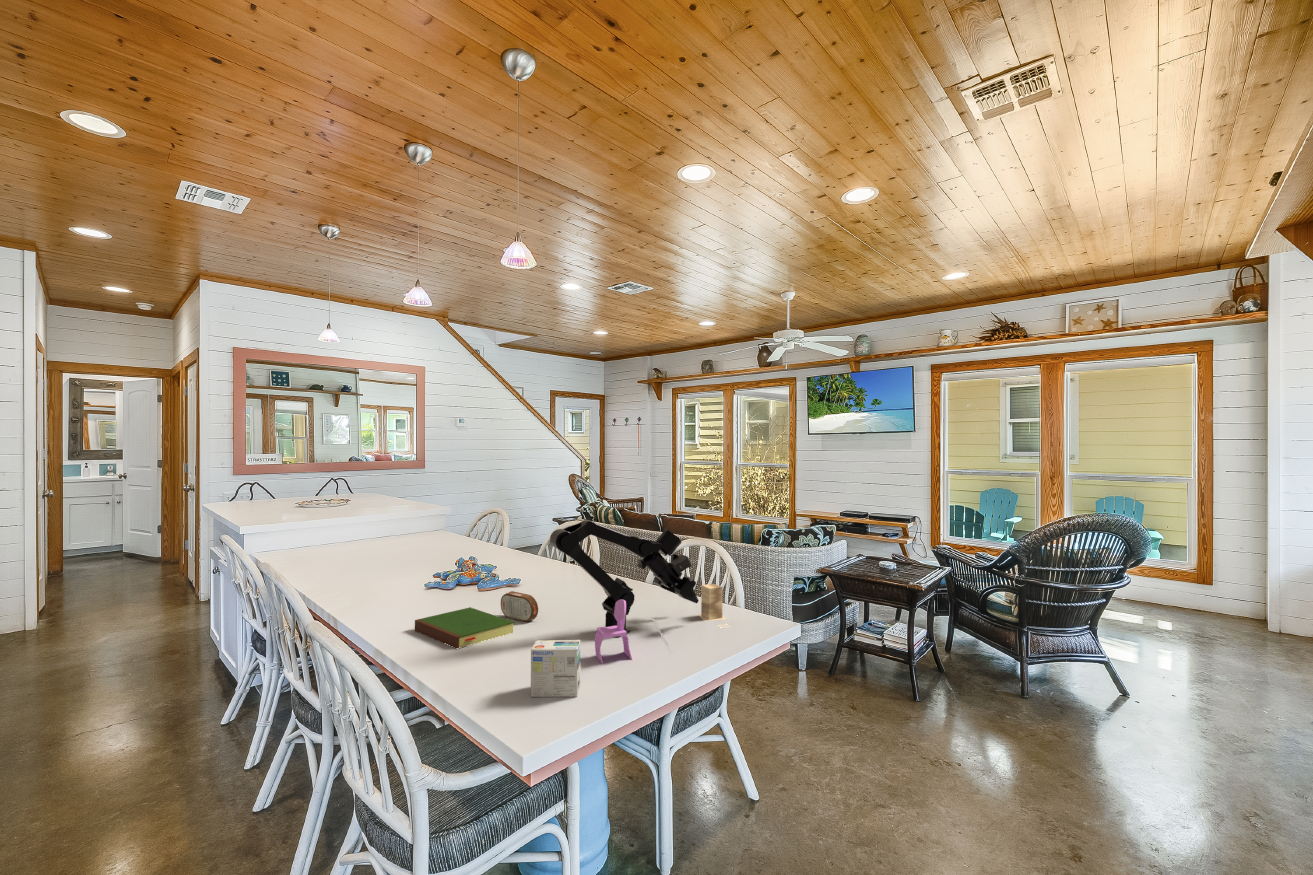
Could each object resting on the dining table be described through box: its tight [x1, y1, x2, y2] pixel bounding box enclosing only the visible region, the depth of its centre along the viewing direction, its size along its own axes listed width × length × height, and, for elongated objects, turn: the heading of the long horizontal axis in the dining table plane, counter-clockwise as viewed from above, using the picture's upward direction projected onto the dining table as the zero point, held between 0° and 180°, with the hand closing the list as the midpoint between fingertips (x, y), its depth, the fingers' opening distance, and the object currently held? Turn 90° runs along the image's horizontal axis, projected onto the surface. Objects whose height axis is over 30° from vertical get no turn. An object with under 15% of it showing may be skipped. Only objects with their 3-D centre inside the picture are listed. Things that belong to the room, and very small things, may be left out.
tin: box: [500, 590, 539, 623], centre depth 184 cm, size 15×3×8 cm, turn 58°
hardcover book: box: [414, 607, 515, 649], centre depth 170 cm, size 25×19×4 cm
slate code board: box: [696, 613, 731, 629], centre depth 180 cm, size 24×14×1 cm, turn 15°
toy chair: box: [594, 599, 633, 665], centre depth 150 cm, size 8×9×15 cm
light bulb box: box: [530, 639, 581, 698], centre depth 129 cm, size 11×7×11 cm, turn 92°
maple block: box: [700, 583, 723, 620], centre depth 185 cm, size 5×5×10 cm
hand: (690, 598), depth 182 cm, fingers open, 9 cm apart
